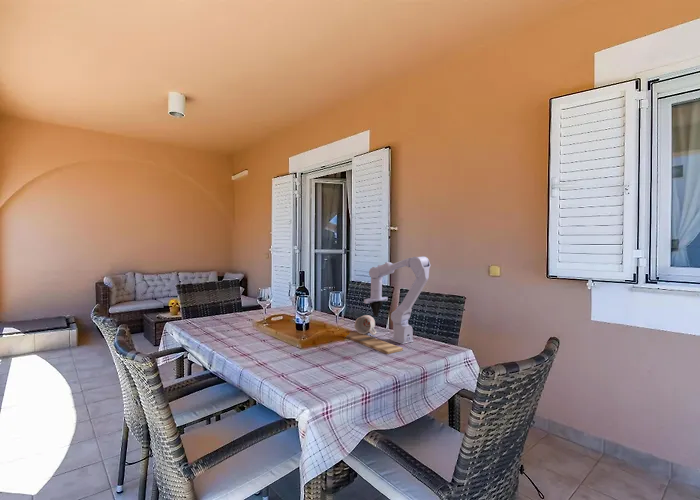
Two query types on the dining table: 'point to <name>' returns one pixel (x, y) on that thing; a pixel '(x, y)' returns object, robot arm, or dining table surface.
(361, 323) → the mug
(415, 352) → the dining table surface
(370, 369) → the dining table surface
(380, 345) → the oak board
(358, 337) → the plank
